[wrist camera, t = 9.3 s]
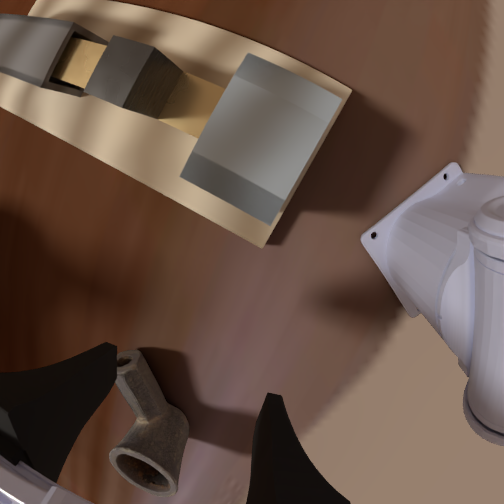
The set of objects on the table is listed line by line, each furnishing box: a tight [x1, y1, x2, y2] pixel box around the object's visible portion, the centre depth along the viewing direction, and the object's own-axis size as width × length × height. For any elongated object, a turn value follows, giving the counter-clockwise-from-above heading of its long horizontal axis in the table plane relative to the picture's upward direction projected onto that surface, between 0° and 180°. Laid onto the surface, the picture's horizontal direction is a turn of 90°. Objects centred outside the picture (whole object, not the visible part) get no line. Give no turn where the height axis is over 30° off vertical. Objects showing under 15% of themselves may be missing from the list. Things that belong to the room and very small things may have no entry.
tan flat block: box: [51, 35, 226, 138], centre depth 14 cm, size 20×3×7 cm, turn 61°
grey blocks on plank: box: [0, 0, 352, 248], centre depth 16 cm, size 31×12×6 cm, turn 62°
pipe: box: [109, 350, 189, 497], centre depth 23 cm, size 6×13×8 cm, turn 13°
